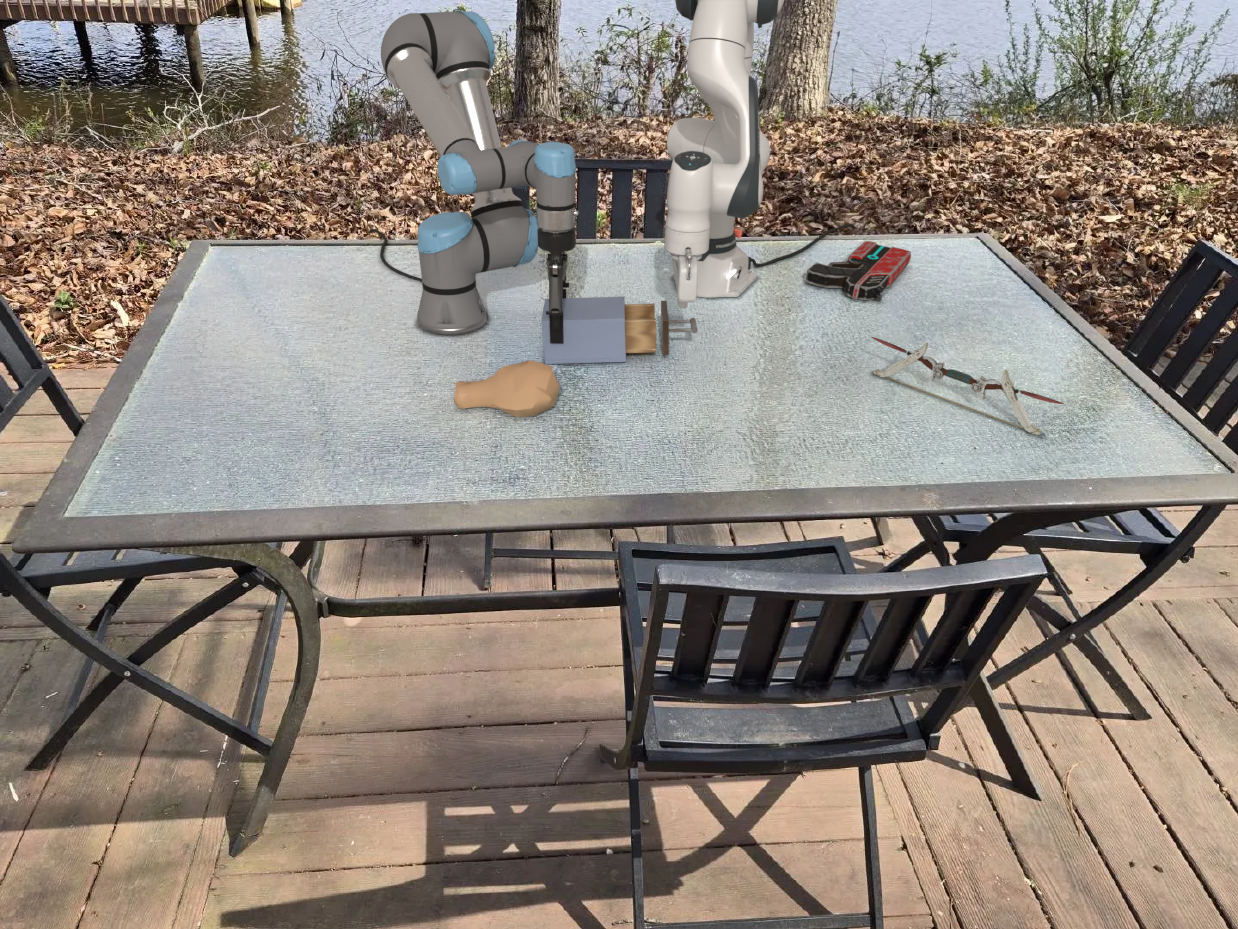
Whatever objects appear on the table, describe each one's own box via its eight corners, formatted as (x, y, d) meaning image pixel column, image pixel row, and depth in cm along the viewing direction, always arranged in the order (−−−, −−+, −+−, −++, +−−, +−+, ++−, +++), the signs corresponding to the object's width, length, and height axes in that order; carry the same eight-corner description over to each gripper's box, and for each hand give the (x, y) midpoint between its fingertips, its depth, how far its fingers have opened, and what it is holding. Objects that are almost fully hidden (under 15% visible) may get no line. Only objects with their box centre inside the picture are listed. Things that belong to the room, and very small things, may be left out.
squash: (561, 423, 162) (553, 385, 155) (455, 431, 163) (443, 394, 157) (564, 386, 169) (557, 349, 163) (463, 394, 171) (452, 358, 165)
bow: (1053, 437, 161) (1070, 389, 156) (1050, 441, 160) (1067, 393, 155) (866, 368, 183) (875, 324, 177) (862, 371, 182) (871, 326, 176)
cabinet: (625, 338, 190) (624, 296, 185) (625, 361, 181) (624, 318, 175) (548, 340, 190) (545, 298, 185) (544, 364, 181) (541, 321, 176)
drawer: (694, 333, 189) (695, 299, 185) (698, 354, 180) (698, 319, 176) (594, 336, 189) (592, 302, 185) (593, 357, 181) (591, 322, 177)
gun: (803, 270, 216) (880, 289, 208) (845, 233, 238) (916, 249, 230) (800, 287, 219) (876, 306, 211) (842, 249, 240) (912, 265, 233)
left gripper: (572, 248, 161) (574, 355, 173) (578, 208, 181) (578, 307, 193) (532, 248, 161) (536, 355, 173) (541, 207, 181) (544, 306, 193)
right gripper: (707, 259, 163) (701, 327, 171) (699, 223, 181) (694, 286, 188) (673, 258, 163) (669, 326, 171) (668, 222, 180) (665, 286, 188)
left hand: (558, 330), depth 183 cm, fingers closed on cabinet, 11 cm apart
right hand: (682, 305), depth 180 cm, fingers closed
